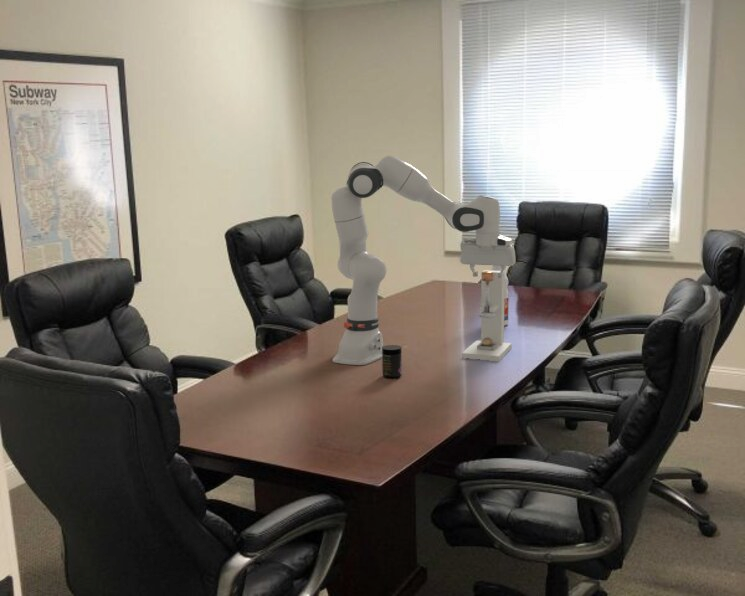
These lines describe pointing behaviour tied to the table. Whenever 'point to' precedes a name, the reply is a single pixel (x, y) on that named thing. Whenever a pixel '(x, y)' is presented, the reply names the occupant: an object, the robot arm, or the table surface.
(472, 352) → the press frame
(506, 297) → the fruit juice
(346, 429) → the table surface
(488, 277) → the plunger
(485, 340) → the walnut
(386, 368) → the supplement container
